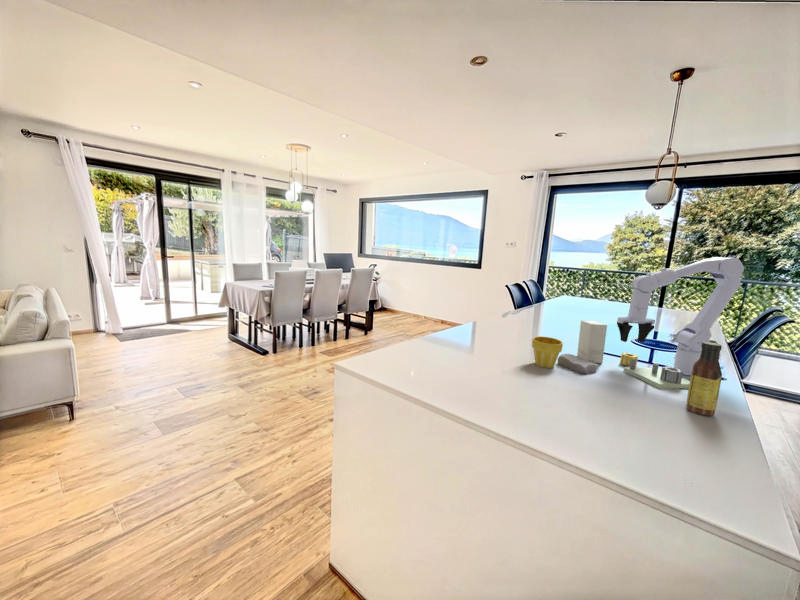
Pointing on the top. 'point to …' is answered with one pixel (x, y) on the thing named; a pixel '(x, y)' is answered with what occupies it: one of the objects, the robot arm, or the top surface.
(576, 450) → the top surface
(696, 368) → the sauce bottle
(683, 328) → the robot arm
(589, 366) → the stone block
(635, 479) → the top surface
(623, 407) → the top surface
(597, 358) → the skincare box
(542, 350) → the plant pot
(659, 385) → the gear board
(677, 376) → the steel gear
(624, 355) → the brass gear
